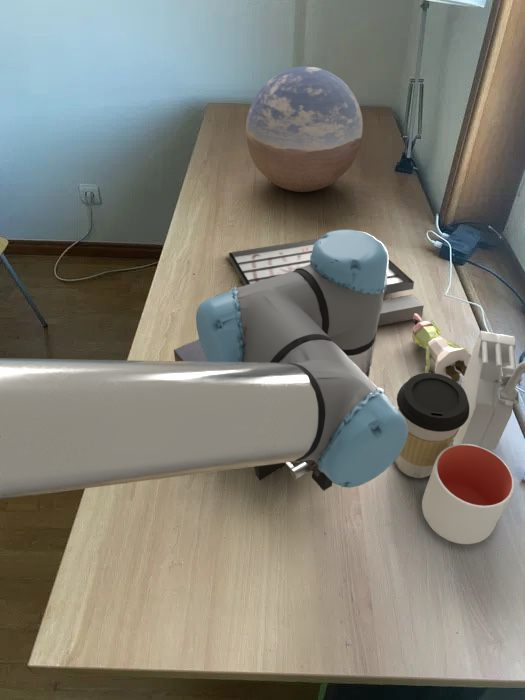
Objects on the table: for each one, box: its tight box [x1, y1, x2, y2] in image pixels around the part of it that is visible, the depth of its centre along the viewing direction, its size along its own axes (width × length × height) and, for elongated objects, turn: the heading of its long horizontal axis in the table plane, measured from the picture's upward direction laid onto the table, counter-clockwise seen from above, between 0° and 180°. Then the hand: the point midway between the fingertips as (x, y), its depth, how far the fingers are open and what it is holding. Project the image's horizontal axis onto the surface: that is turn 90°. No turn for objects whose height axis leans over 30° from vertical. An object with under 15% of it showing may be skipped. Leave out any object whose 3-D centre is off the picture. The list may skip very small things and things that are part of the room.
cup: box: [421, 444, 515, 545], centre depth 76 cm, size 10×10×10 cm
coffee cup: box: [394, 372, 470, 479], centre depth 82 cm, size 10×10×15 cm
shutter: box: [228, 238, 425, 327], centre depth 120 cm, size 32×7×31 cm
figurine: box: [409, 313, 471, 383], centre depth 101 cm, size 9×7×15 cm
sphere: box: [245, 65, 364, 193], centre depth 145 cm, size 30×30×30 cm
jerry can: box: [452, 330, 525, 454], centre depth 81 cm, size 15×5×25 cm, turn 165°
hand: (321, 481), depth 80 cm, fingers closed
